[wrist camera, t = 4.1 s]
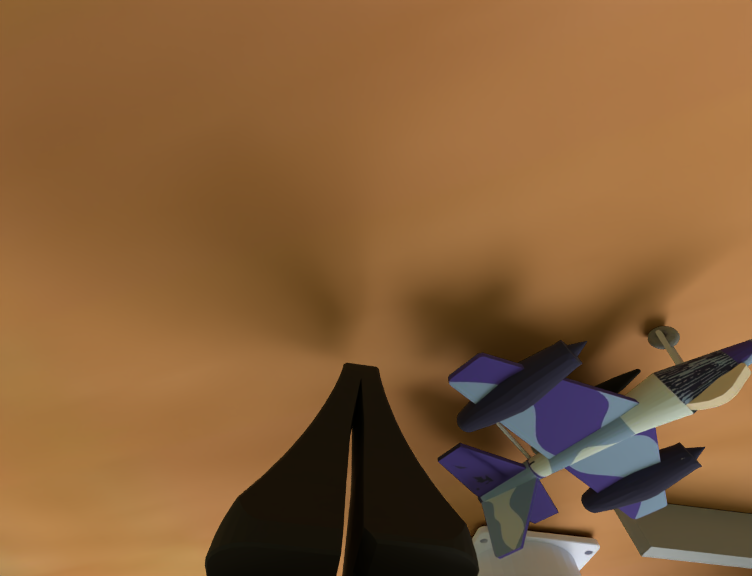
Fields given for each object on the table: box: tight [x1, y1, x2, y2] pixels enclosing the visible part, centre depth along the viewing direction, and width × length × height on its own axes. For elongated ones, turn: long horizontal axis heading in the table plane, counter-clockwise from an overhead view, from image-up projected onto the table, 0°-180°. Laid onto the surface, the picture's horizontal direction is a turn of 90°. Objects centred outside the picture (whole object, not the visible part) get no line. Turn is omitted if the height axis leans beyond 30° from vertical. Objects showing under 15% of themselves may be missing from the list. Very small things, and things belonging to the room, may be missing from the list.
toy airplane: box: [438, 326, 752, 559], centre depth 14 cm, size 13×14×4 cm
